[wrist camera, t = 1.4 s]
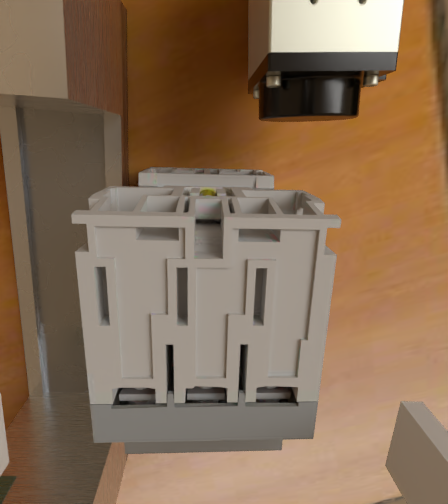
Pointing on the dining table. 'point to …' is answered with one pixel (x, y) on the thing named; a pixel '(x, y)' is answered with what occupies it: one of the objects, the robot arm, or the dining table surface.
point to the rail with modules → (59, 229)
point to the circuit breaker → (204, 310)
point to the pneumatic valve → (319, 55)
